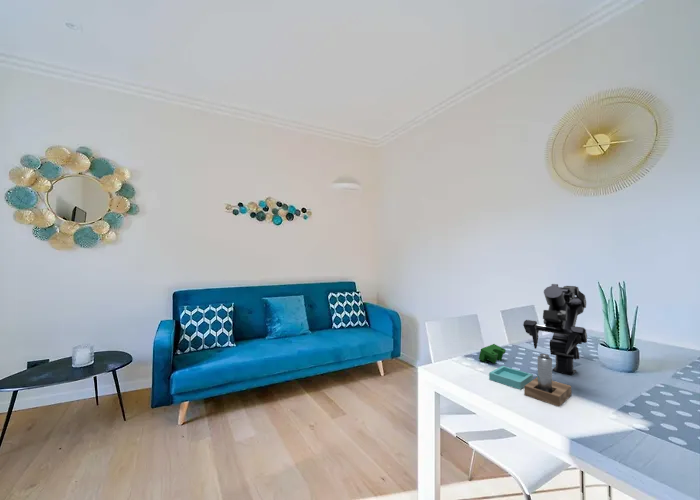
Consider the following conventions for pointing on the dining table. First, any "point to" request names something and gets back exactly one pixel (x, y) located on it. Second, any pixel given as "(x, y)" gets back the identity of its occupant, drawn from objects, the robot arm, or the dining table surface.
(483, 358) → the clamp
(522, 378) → the tray
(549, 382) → the grey capped bottle
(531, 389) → the socket block
